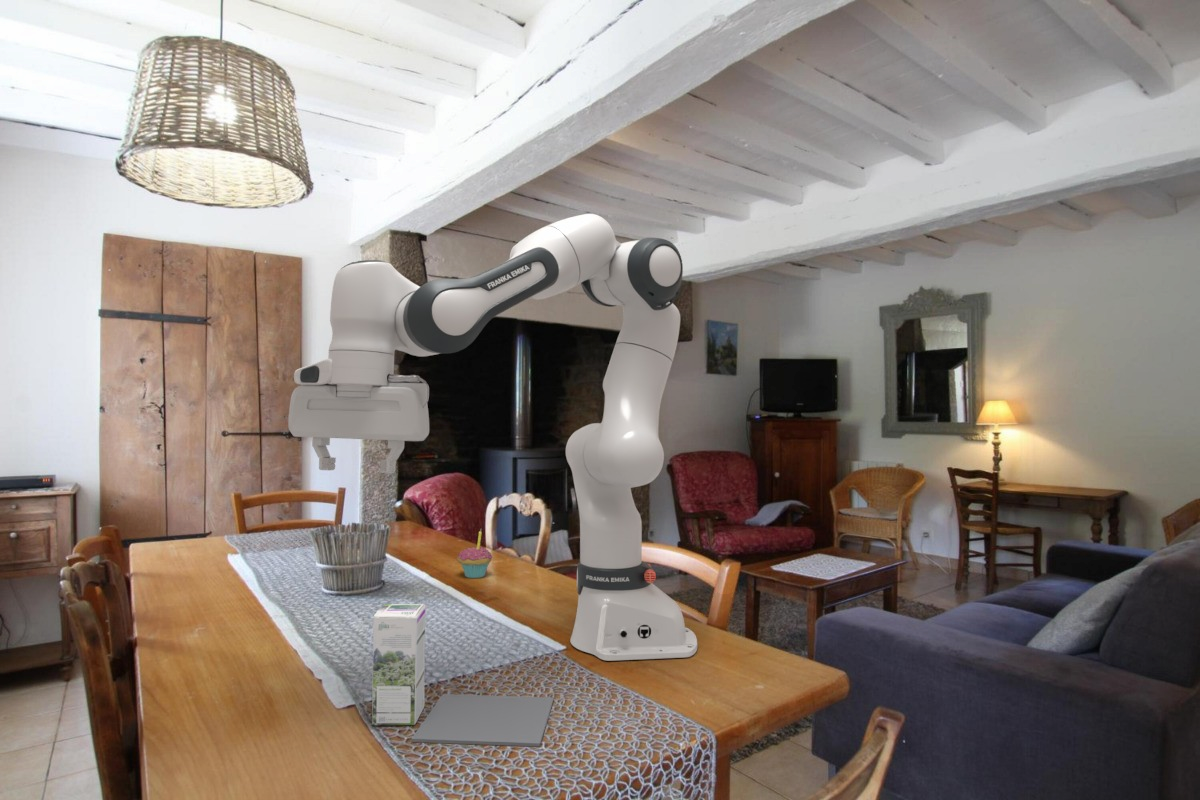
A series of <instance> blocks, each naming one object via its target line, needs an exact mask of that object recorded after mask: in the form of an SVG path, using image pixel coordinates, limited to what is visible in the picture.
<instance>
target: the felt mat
mask: <svg viewBox="0 0 1200 800" xmlns="http://www.w3.org/2000/svg"><path fill="white" fill-rule="evenodd" d="M554 699H555V697H545V696H542V697H541V696H515V695H513V696H511V695H482V694H481V695H480V694H479V695H478V694H458V693H457V694H455V693H454V694H452V693H451V694H450V693H443V694H442V695H441V696H440V697H439V699H438V700H437V702H436V703H435V704H434V706H433V708H432V709H431V710H430V712H429V713H428V715H427V716H426V717H425V719H424V721H423V722H422V723H421V725H420V726H419V727H418V729H417V730H416V731H415V733H414V734H413V736H412V737H411V743H426V744H429V743H430V744H452V745H453V744H455V745H456V744H458V745H459V744H460V745H479V746H481V745H482V746H483V745H484V746H488V745H489V746H509V747H511V746H512V747H513V746H514V747H515V746H516V747H539V748H540V747H541V744H542V740H543V737H544V733H545V730H546V728H545V727H547V725H548V724H547V723H548V720H549V718H550V713H551V710H552V707H553V704H554Z"/></svg>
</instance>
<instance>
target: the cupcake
mask: <svg viewBox="0 0 1200 800" xmlns="http://www.w3.org/2000/svg"><path fill="white" fill-rule="evenodd" d="M481 540H482V529H480V531H478V538H477V546H475V547H474V546H472V547H467V548H464V549H463V550H461V552H459V554H458V555H457V558H456V561H457V563H458V564H461V567H462V569H463V573H464V576H465V577H466V578H468V579H479V578H484V577H485V576H486V572H487V569H488V566H489V564H490V563H491V562H492V560H493V559H492V558H493V555H492V554H491V552H490V551H489V550H488V549H487V548H484V547H481V542H482V541H481Z"/></svg>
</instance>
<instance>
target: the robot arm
mask: <svg viewBox="0 0 1200 800" xmlns="http://www.w3.org/2000/svg"><path fill="white" fill-rule="evenodd" d="M683 266H684V265H683V259H682V256H681V253H680V251H679V250H678V247H676V245H675V244H674V243H673V242H672V241H669V240H668V239H664V238H662V237H661V238H660V237H645V238H642V239H637V240H630V241H625V242H622V243H621V242H620V241H618V240H617V239H616V235H615V232H614V230H613V228H612V226H611V224H610V223H609V222H608V221H607V220H606V219H605V218H604V217H602V216H600V215H598V214H595V213H584V214H579V215H574V216H571V217H566V218H563V219H561V220H558V221H555V222H552V223H549V224H547V225H545V226H543V227H541V228H539V229H537V230H534V231H533V232H532V233H530V234H529V235H527V236H525V237H524V238H522V239H521V240H520V241H518V242H517V243H516V244H515V245H513V247H512V248H511V250H510V253H509V258H508V259H507V260H506V261H504V262H502V263H500V264H498V265H496V266H493V267H492V268H489V269H488V270H485V271H483V272H482V273H481V272H480V273H479V274H477V275H475V276H472V277H469V278H438V279H434V280H431V281H428V282H426V283H424V284H422V285H420V286H419V285H418V284H417V283H414V282H412V281H411V280H410V279H408V278H407V277H406V276H404V275H403V274H401V272H399V271H398V270H396V268H395V267H394V266H393V265H392V264H391V263H390V262H387V261H385V260H384V261H383V260H379V259H373V260H372V259H368V260H367V259H366V260H358V261H353V262H350V263H348V264H345V265H343V267H341V268H340V269H339V270H338V271H337V273H336V274H335V277H334V281H333V285H332V292H331V301H330V313H329V321H330V323H329V324H330V326H331V332H332V334H331V335H332V336H331V341H330V344H329V346H328V347H329V348H328V354H327V355H328V357H327V358H326V359H323V360H320V361H317V362H315V363H312V364H309V365H306V366H303V367H300V368H298V369H296V370H294V373H293V381H294V383H295V384H297V385H298V386H296V387H295V388H294V389H293V391H292V393H291V397H290V401H289V411H288V421H287V422H288V425H287V427H288V430H289V432H290V433H291V434H292V436H293V437H296V438H297V437H298V438H312V441H311V442H312V443H311V444H312V449H313V450H314V452H315V454H316V455H317V458H318V469H319V470H320V471H335V469H336V462H337V461H336V460H337V458H336V457H333V456H332V457H331V454H330V452H329V449H328V447H327V446H330V444H331V443H330V442H331V439H347V440H348V439H349V440H373V441H374V440H377V441H387V448H388V449H390V452H389V453H388V455H387V457H386V459H382V460H380V461H379V466H380V468H379V472H380V474H394V473H395V472H396V467H397V460H398V459H399V457H400V456H401V454H402V453H403V451H404V449H405V442H423V441H425V440H426V439H427V437H428V436H429V434H430V417H429V416H430V415H429V408H428V402H429V397H430V387H429V384H428V383H427V381H426V380H425V379H424V378H422V377H421V376H419V375H416V374H410V375H403V374H395V373H394V372H395V371H394V369H395V351H398V352H402V353H405V354H409V355H411V356H416V357H429V356H434V355H436V356H437V355H439V354H454V353H457V352H460V351H462V350H464V349H466V348H468V346H470V345H471V344H472V343H473V342H474V341H475V340H476V339H477V337H478V336H479V334H480V333H481V332H482V331H483V329H484V328H485V327H486V325H487V324H488V323H489V322H490V321H491V320H492V319H494V318H495V317H496V316H498V315H501V314H502V313H503V312H505V311H507V310H509V309H511V308H513V307H515V306H516V305H519V304H520V303H522V302H524V301H526V300H527V299H528V300H529V299H533V300H535V301H539V300H544V299H548V298H551V297H554V296H557V295H560V294H562V293H565V292H567V291H569V290H571V289H573V288H575V287H576V286H578V285H580V286H581V288H582V290H583V292H584V293H585V295H586V296H587V298H588V299H589V300H591V301H592V302H593V303H594V304H597V305H598V306H599V305H600V306H603V307H610V308H612V307H616V306H617V307H618V306H620V307H621V309H622V325H621V328H620V331H619V334H618V336H617V339H616V342H615V345H614V347H613V351H612V354H611V356H610V360H609V364H608V365H607V369H606V371H605V375H604V377H603V380H602V389H603V392H604V406H603V416H602V420H601V422H595V423H590V424H587V425H584V426H582V427H581V428H580V427H579V429H577V430H575V431H574V432H573V433H572V434H571V435H570V437H569V438H568V440H567V442H566V446H565V457H566V461H567V463H568V465H569V467H570V470H571V473H572V480H573V485H574V491H575V496H576V501H577V507H578V515H579V539H580V541H579V552H580V553H579V561H578V563H577V568H576V590H577V594H578V597H577V598H578V601H577V609H576V613H575V614H576V616H575V620H574V624H573V625H574V626H573V630H572V633H571V636H570V639H569V640H570V644H571V645H572V646H573V647H574V648H575V649H577V650H579V651H581V652H583V653H584V652H585V653H588V654H590V655H594V656H595V657H597V658H598V659H600V660H603V661H609V662H610V661H611V662H612V661H615V662H616V661H630V660H631V661H633V660H655V659H656V660H657V659H660V660H661V659H676V658H677V659H678V658H680V659H681V658H690V657H692V656H693V655H695V654H696V652H697V650H698V639H697V636H696V634H695V632H694V631H692V630H691V629H690V628H688V627H686V626H685V625H686V624H685V619H684V616H683V613H682V610H681V607H680V605H678V603H677V602H676V601H675V600H674V599H673V598H671V597H670V596H669V595H668V594H666V593H665V592H664V591H662V590H661V589H660V588H659V587H657V586H656V585H655V583H654V582H655V581H656V579H657V576H656V572H655V570H654V568H653V567H652V566H651V564H650V563H646V562H645V561H643V559H642V550H643V549H642V548H643V547H642V546H643V544H642V543H643V541H642V538H643V537H642V535H643V534H642V532H643V531H642V530H643V529H642V528H643V526H642V525H643V524H642V523H643V521H642V518H641V514H640V512H639V511H638V509H637V507H636V504H635V501H634V498H633V494H632V488H633V489H634V488H636V487H642V486H645V485H648V484H650V483H651V482H653V481H655V479H656V478H657V477H658V476H659V475H660V473H661V471H662V468H663V465H664V460H665V452H664V447H663V446H662V443H661V441H660V438H659V437H660V436H659V423H660V422H659V420H660V411H661V410H660V409H661V403H662V398H663V394H664V391H665V388H666V385H667V382H668V377H669V375H670V372H671V368H672V364H673V362H674V358H675V355H676V351H677V347H678V341H679V335H680V327H681V312H680V311H679V308H678V307H677V306H676V304H674V303H675V301H676V300H677V299H678V297H679V296H680V288H681V285H682V282H683V281H682V280H683V274H684V271H683Z"/></svg>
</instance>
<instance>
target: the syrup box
mask: <svg viewBox="0 0 1200 800" xmlns="http://www.w3.org/2000/svg"><path fill="white" fill-rule="evenodd" d="M426 613H427V612H426V604H425V603H385V604H383V605H382V606H381V607H379V609H377V611H376V613H375V614H374V615H373V618H372V619H373V620H372V625H373V627H372V632H373V633H372V695H371V696H372V699H371V701H372V702H371V703H372V704H371V705H372V707H371V709H372V710H371V713H372V715H371V719H372V720H371V725H372V726H415V725H416V723H417V722H418V720H419V718H420V716H421V714H422V712H423V710H424V708H425V702H426V701H425V698H426V697H425V668H426V667H425V659H426V656H425V655H426V623H427V622H426Z"/></svg>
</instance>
